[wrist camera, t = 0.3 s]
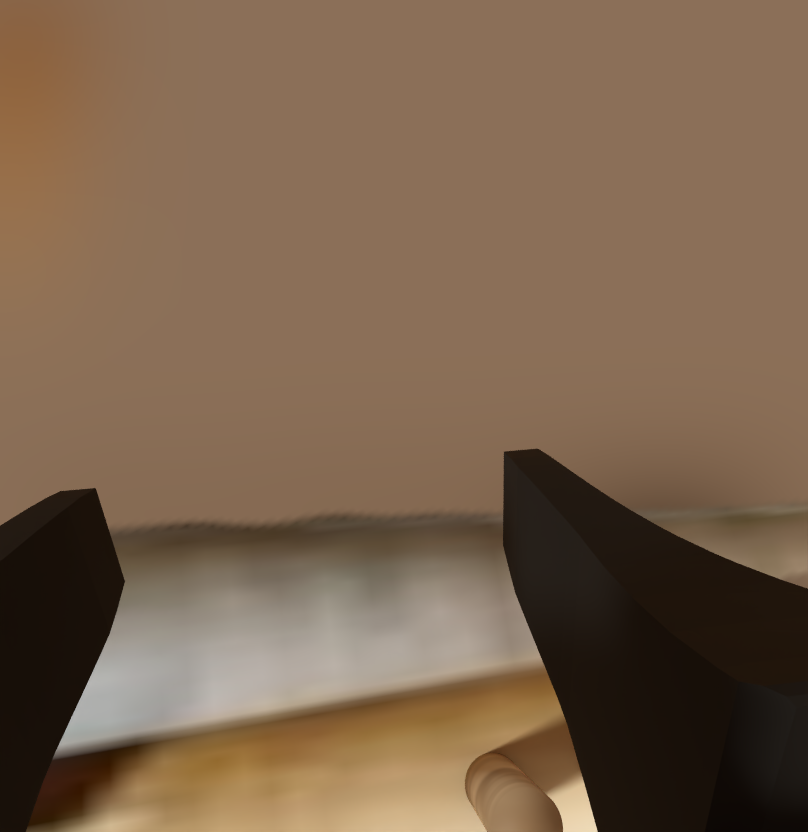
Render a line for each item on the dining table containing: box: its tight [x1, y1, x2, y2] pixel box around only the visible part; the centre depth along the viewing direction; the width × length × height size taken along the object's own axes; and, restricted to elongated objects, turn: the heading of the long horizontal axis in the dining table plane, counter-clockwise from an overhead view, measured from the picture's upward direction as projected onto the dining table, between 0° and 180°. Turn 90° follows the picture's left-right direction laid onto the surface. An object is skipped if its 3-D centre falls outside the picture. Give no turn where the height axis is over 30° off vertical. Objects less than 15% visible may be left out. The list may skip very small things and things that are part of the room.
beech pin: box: [465, 753, 563, 832], centre depth 32 cm, size 3×3×8 cm
